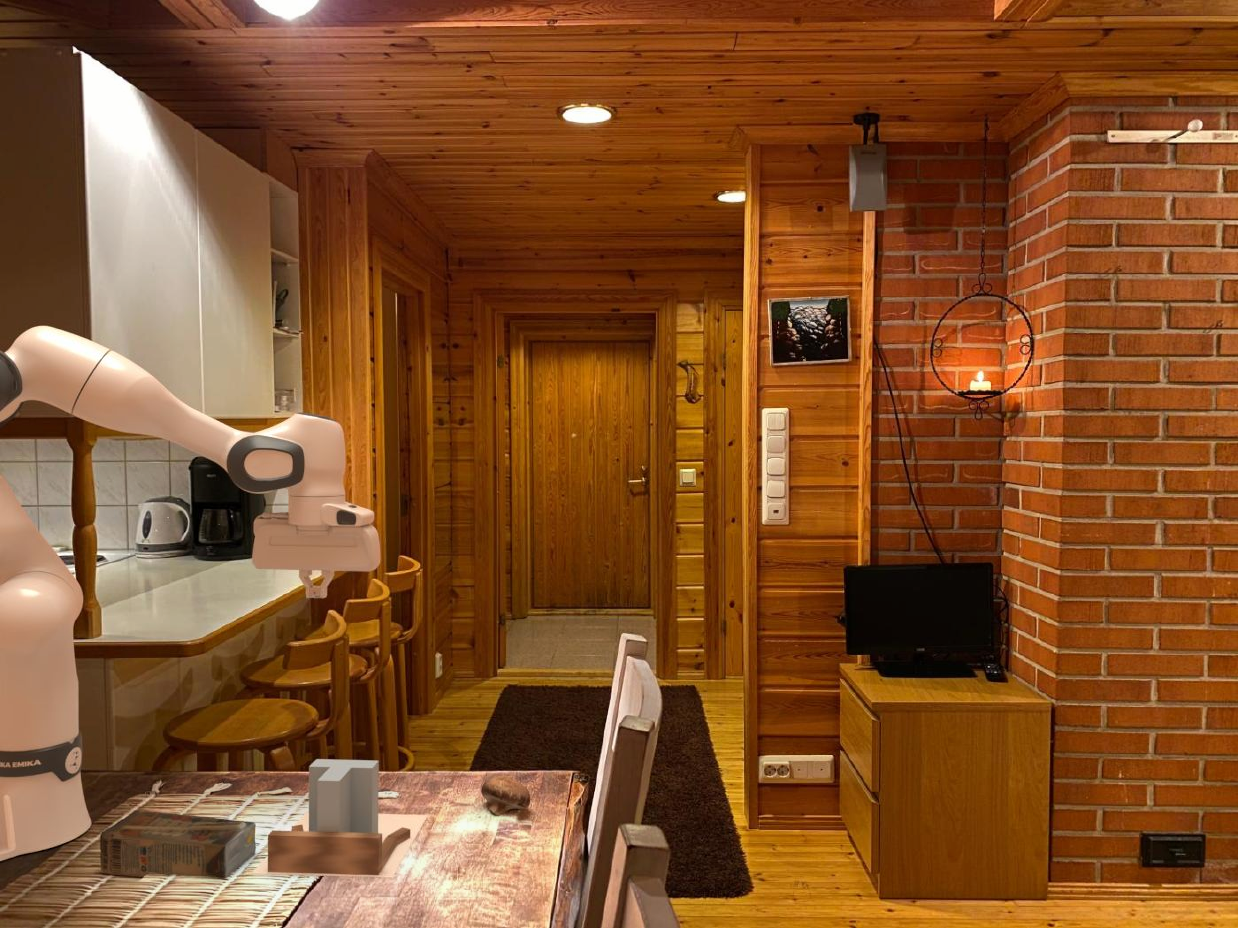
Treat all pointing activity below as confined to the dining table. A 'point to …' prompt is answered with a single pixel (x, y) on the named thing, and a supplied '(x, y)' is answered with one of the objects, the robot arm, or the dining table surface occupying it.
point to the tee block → (343, 796)
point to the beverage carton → (176, 845)
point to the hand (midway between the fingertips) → (316, 597)
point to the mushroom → (505, 795)
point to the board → (386, 827)
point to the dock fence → (331, 851)
